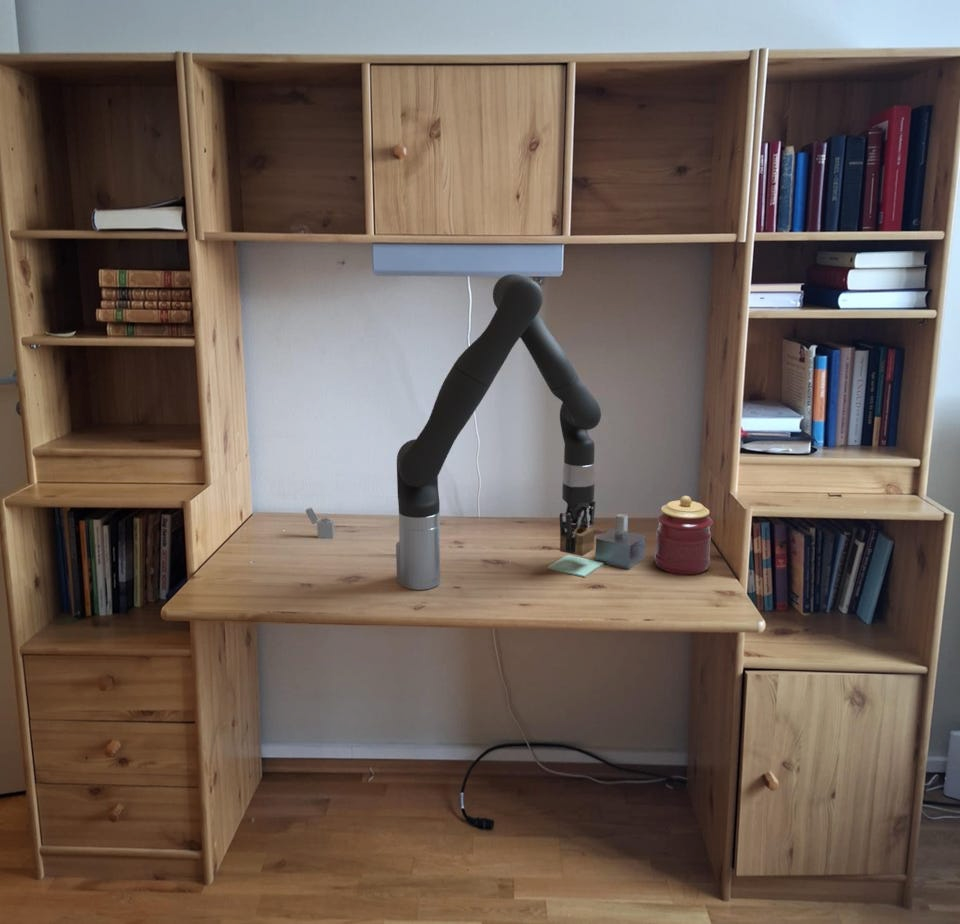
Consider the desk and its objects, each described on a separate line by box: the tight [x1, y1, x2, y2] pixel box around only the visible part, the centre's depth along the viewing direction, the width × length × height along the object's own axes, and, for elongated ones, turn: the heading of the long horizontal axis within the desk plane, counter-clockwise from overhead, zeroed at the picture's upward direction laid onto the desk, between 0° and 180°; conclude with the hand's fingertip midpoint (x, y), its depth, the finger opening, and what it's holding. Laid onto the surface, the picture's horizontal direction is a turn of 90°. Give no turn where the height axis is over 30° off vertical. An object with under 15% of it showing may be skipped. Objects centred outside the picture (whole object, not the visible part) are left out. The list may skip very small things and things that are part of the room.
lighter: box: [305, 507, 335, 539], centre depth 231 cm, size 7×2×8 cm, turn 87°
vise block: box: [594, 513, 646, 570], centre depth 214 cm, size 9×9×12 cm
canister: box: [654, 495, 714, 576], centre depth 210 cm, size 13×13×18 cm
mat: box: [547, 554, 605, 578], centre depth 212 cm, size 10×10×1 cm
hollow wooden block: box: [559, 526, 595, 557], centre depth 210 cm, size 6×6×5 cm
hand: (576, 547), depth 210 cm, fingers closed on hollow wooden block, 6 cm apart
